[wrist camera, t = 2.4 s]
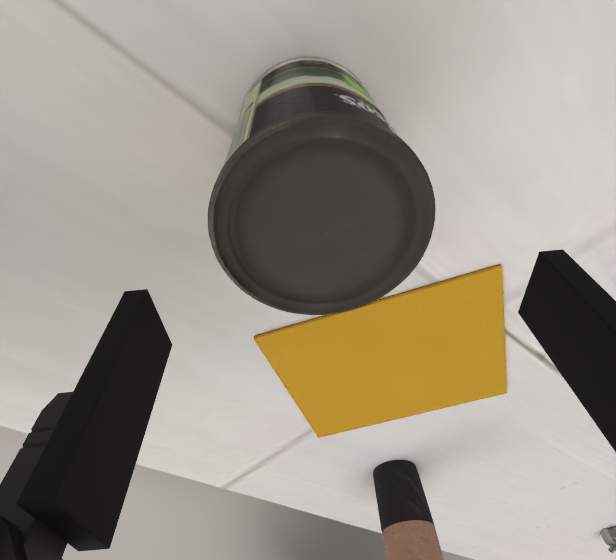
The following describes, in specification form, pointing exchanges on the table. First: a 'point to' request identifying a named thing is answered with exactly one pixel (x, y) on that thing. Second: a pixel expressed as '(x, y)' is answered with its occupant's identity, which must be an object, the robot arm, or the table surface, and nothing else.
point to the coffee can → (318, 194)
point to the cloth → (396, 354)
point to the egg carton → (610, 538)
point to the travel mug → (405, 513)
